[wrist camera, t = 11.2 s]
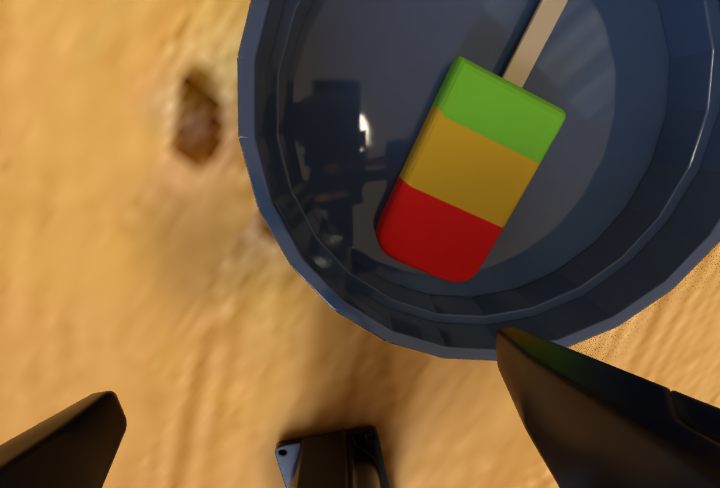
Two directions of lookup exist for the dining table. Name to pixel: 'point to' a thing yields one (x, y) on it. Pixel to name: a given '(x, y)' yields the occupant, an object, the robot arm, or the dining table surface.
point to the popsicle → (471, 161)
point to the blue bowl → (546, 188)
